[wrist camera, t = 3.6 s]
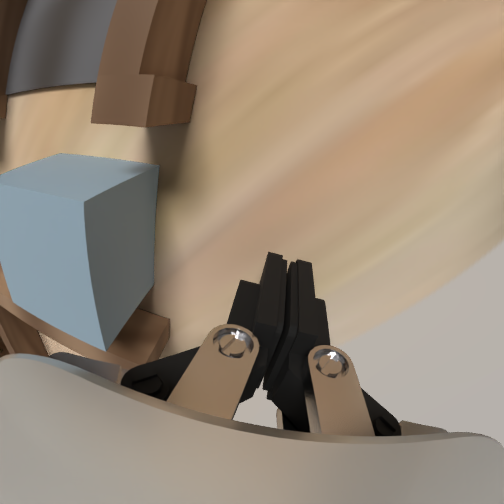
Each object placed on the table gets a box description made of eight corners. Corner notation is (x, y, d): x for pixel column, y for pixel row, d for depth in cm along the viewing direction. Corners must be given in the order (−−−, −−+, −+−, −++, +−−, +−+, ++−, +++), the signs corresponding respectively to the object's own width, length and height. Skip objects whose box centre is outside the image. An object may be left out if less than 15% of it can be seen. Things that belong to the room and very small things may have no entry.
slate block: (160, 164, 11) (83, 201, 6) (154, 282, 14) (106, 351, 9) (62, 152, 11) (-15, 181, 6) (68, 254, 14) (13, 302, 9)
